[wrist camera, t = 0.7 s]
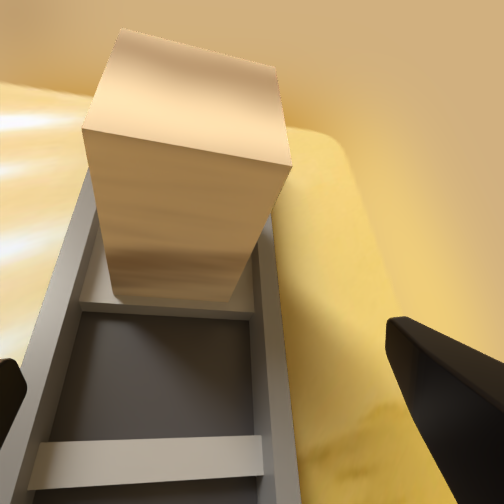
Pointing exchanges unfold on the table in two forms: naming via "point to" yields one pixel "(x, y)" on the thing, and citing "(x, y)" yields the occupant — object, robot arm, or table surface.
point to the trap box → (152, 389)
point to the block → (183, 165)
